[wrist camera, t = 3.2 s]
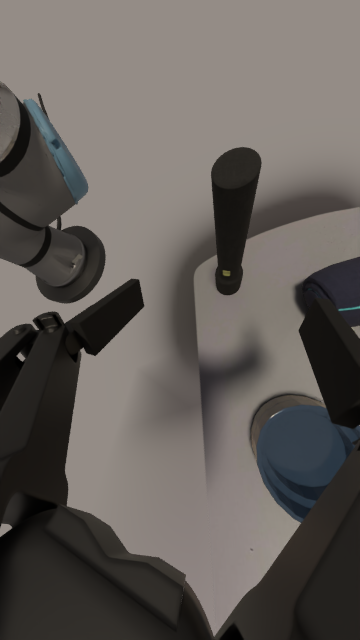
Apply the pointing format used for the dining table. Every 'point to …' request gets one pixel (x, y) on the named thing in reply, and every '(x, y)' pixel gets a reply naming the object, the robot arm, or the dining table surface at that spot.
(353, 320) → the portable speaker
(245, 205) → the flashlight
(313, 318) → the robot arm
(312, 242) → the dining table surface
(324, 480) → the bowl
